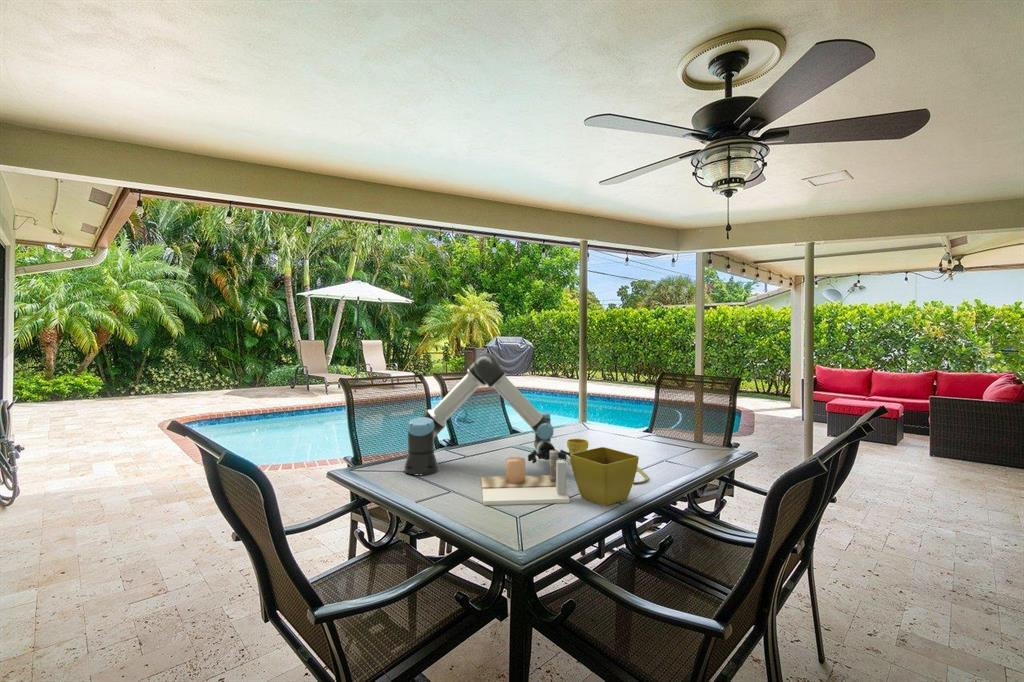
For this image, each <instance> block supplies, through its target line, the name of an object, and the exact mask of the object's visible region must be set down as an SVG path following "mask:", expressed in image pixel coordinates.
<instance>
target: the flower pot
mask: <svg viewBox="0 0 1024 682" xmlns="http://www.w3.org/2000/svg"><path fill="white" fill-rule="evenodd" d="M639 458H640V457H639V455H636V454H631V453H628V452H626V451H625V452H624V451H621V450H617V449H614V448H613V449H612V448H609V447H605V446H601V447H595V448H591V449H587V450H585V451H581V452H576V453H572V454H570V460H571V465H570V466H571V468H572V469H571V470H572V473H573V474H572V475H573V476H574V480H575V482H576V483H575V484H576V486H577V490H578V493H579V494H580V496H581V498H582V497H583V498H582V499H585V498H586V499H585V500H587V499H588V500H587V501H590V502H592V501H593V503H595V502H596V504H597V503H598V505H600V504H601V505H600V506H602V505H604V507H606V505H607V506H610V505H614V504H617V503H620V502H623V501H626V500H627V499H628V498H629V495H630V492H631V490H632V487H633V485H634V484H633V482H635V478H636V474H637V471H636V470H637V466H638V465H639V460H640V459H639ZM619 501H620V502H619ZM616 502H617V503H616ZM613 503H614V504H613Z"/></svg>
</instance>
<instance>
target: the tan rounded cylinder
mask: <svg viewBox="0 0 1024 682" xmlns="http://www.w3.org/2000/svg"><path fill="white" fill-rule="evenodd" d="M505 476H506V482H507V483H510V484H521V483H524V482H525V476H526V459H525V457H522V456H521V457H520V456H510V457H507V458H505Z"/></svg>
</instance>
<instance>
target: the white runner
mask: <svg viewBox="0 0 1024 682" xmlns="http://www.w3.org/2000/svg"><path fill="white" fill-rule="evenodd" d="M566 467H567V462H566V460H564V459H558V460H556V487H536V488H498V489H482V488H481V492H482V493H481V494H482V506H502V505H503V506H504V505H505V506H506V505H507V506H508V505H535V504H537V505H539V504H540V505H542V504H544V505H545V503H546V504H570V503H571V499H570V497H569V496H568V493H567V492H566V489H567V488H566V487H567V481H566V480H567V479H566V478H567V469H566Z"/></svg>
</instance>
